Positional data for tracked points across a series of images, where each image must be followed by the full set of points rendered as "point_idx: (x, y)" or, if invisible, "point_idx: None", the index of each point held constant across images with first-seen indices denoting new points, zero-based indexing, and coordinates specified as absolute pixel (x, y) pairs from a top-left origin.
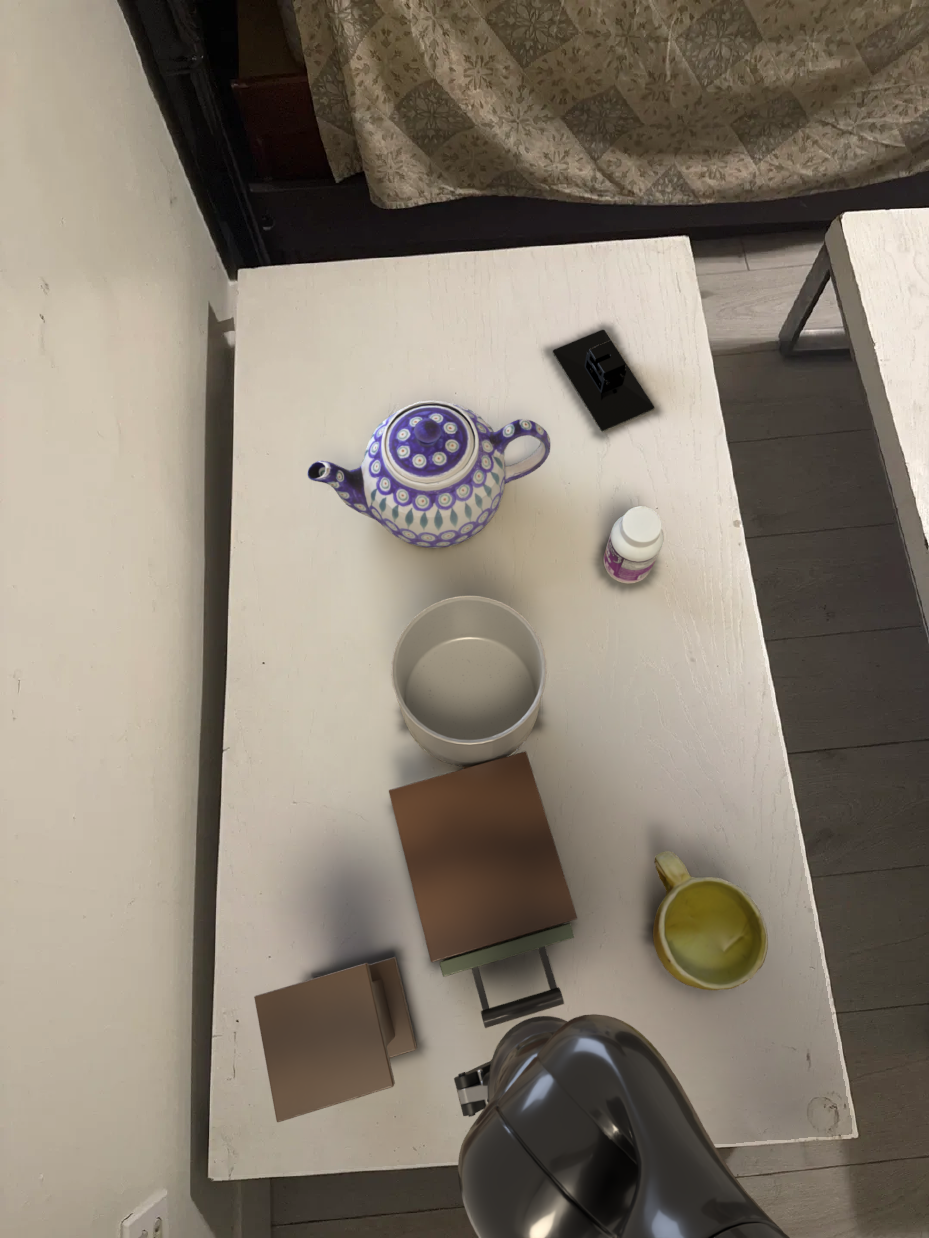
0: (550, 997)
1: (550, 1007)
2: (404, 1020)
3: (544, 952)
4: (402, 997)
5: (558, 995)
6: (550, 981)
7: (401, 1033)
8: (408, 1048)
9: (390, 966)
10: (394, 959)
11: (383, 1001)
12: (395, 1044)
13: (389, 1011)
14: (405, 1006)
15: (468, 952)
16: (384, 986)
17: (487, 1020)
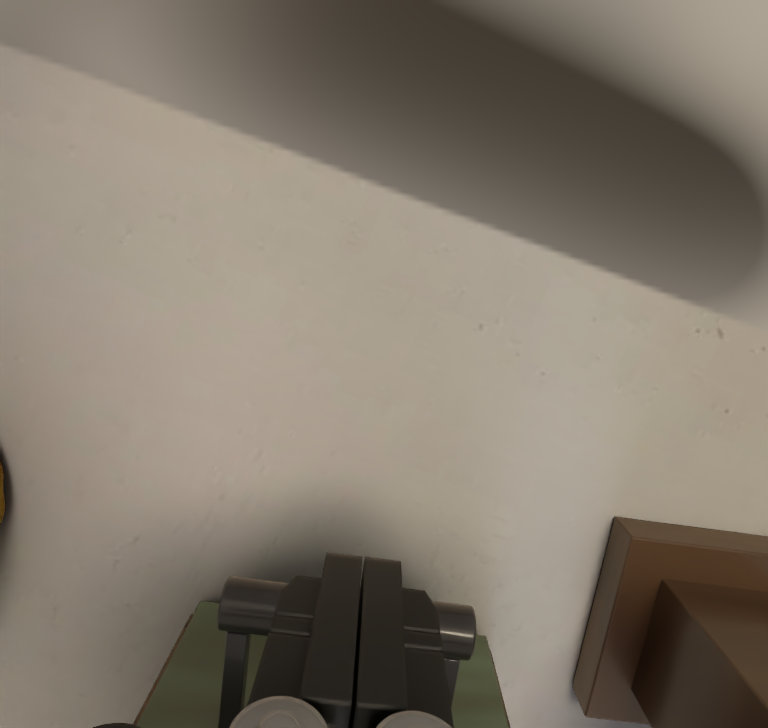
0: (253, 628)
1: (267, 594)
2: (626, 599)
3: (225, 721)
4: (606, 641)
5: (228, 622)
6: (239, 652)
7: (646, 580)
8: (646, 546)
9: (601, 704)
10: (586, 712)
11: (679, 712)
12: (669, 563)
13: (649, 629)
14: (609, 623)
15: None
16: (633, 675)
17: (461, 644)
